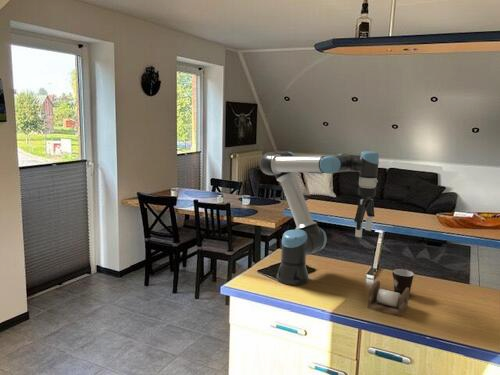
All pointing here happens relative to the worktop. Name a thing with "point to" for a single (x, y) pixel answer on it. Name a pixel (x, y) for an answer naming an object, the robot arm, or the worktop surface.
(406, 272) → the coffee mug
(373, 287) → the holder
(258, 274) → the worktop surface
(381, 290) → the roll
